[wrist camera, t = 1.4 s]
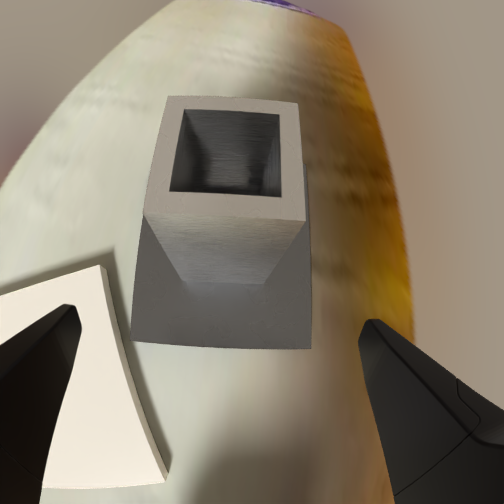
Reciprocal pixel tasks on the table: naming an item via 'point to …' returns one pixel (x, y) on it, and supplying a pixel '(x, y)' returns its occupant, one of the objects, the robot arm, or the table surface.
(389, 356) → the robot arm
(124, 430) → the cutting board
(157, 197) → the square hollow tube
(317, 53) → the table surface
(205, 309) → the grey piece
